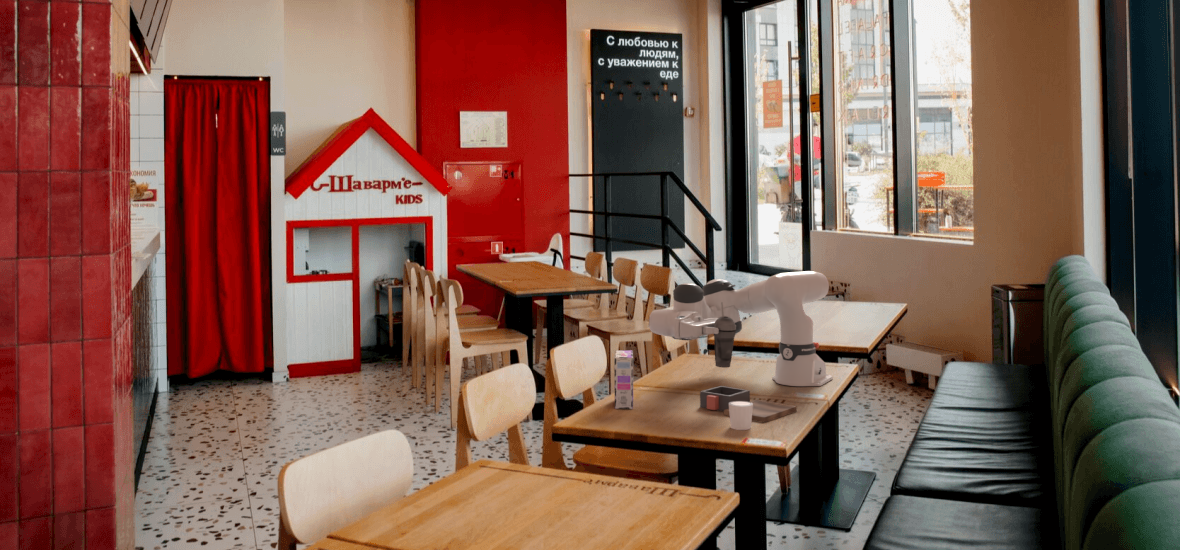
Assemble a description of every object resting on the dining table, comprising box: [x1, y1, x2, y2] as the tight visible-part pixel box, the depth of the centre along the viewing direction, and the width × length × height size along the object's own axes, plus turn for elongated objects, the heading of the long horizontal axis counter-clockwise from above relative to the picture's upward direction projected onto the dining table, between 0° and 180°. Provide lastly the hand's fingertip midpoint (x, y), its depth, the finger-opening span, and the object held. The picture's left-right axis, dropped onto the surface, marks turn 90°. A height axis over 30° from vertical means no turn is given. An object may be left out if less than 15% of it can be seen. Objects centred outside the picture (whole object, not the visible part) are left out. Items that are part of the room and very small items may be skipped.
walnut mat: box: [723, 399, 798, 423], centre depth 274 cm, size 18×14×2 cm
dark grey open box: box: [699, 385, 751, 412], centre depth 282 cm, size 13×11×5 cm
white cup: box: [729, 401, 753, 431], centre depth 257 cm, size 7×7×7 cm
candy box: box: [613, 350, 634, 410], centre depth 287 cm, size 14×6×16 cm, turn 176°
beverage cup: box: [713, 302, 737, 369], centre depth 281 cm, size 7×7×20 cm
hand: (726, 329), depth 280 cm, fingers closed on beverage cup, 7 cm apart
